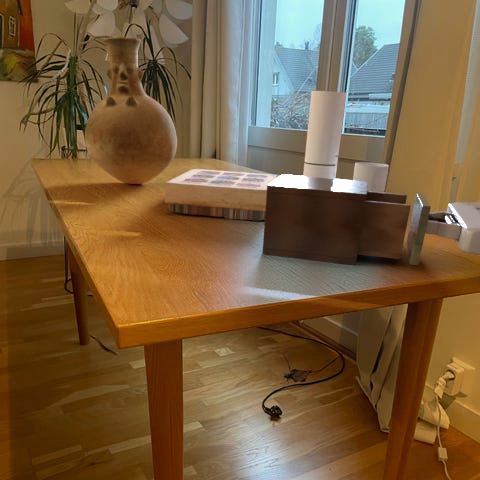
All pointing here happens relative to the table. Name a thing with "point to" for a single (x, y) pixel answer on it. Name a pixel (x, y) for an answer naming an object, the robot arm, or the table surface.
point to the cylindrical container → (324, 134)
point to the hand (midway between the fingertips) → (422, 221)
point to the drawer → (395, 225)
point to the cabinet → (314, 218)
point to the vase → (129, 122)
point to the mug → (371, 175)
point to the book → (219, 193)
